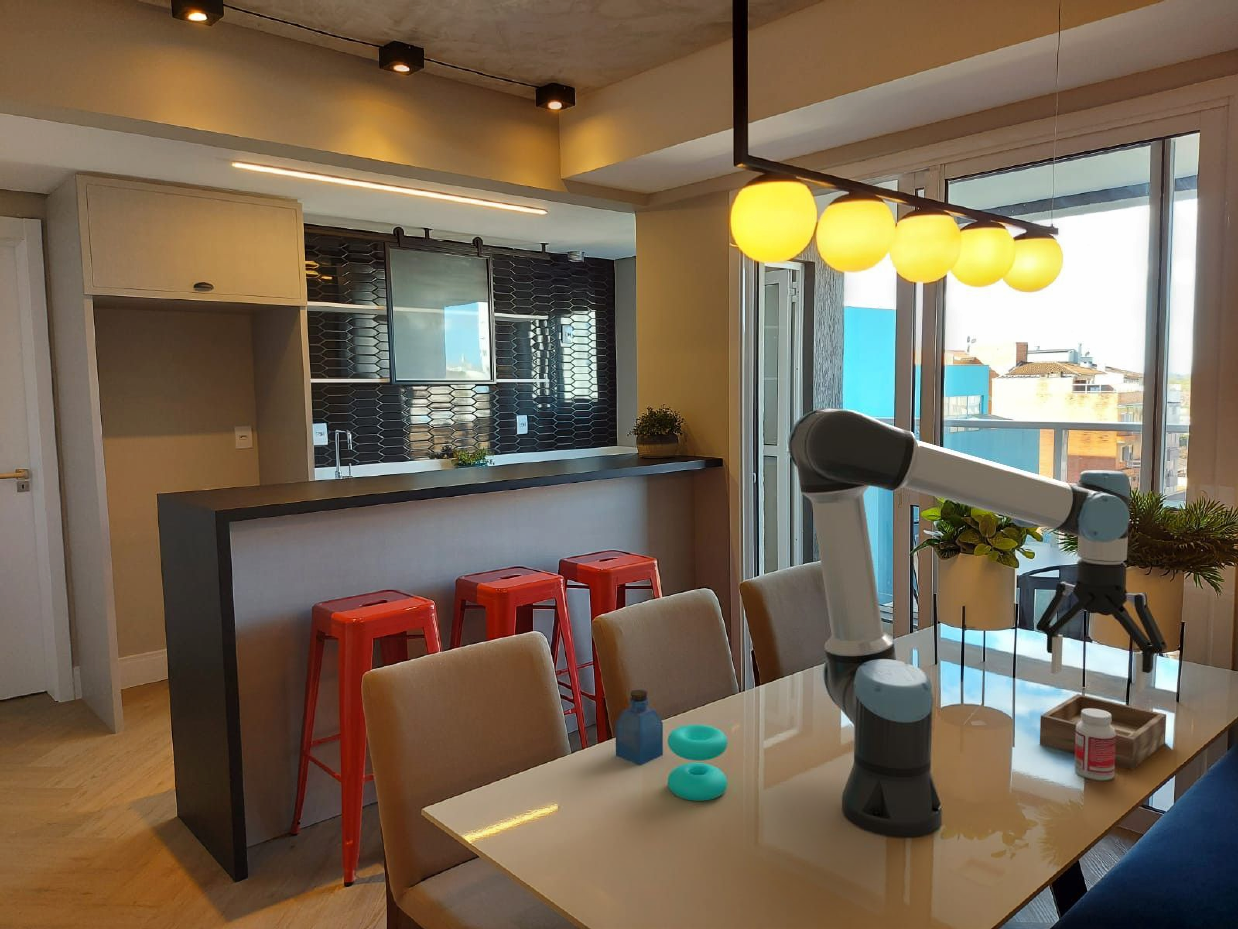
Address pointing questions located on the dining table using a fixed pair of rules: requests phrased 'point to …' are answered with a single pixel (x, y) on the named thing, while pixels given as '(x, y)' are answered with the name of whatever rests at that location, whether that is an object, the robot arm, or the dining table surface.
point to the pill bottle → (1095, 745)
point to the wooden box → (1132, 725)
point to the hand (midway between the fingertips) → (1096, 681)
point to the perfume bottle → (639, 731)
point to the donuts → (697, 777)
